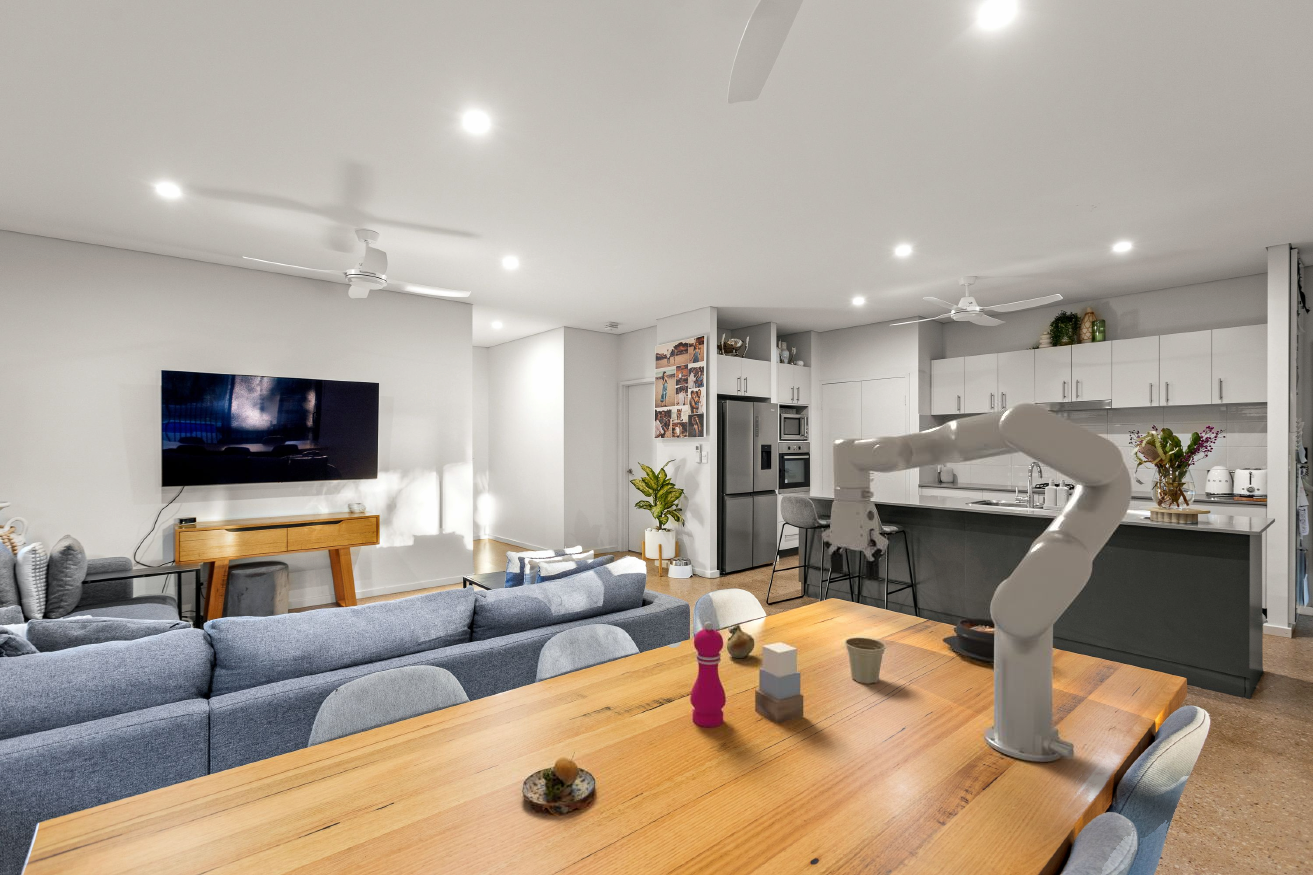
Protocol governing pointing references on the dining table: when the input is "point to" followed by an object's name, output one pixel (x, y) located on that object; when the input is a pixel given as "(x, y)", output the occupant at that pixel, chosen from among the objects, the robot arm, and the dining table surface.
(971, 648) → the casserole
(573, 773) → the small plate of food
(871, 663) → the flower pot
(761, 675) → the slate block
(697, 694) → the pepper mill
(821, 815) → the dining table surface
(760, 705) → the walnut block
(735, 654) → the onion
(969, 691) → the dining table surface
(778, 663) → the cream block
